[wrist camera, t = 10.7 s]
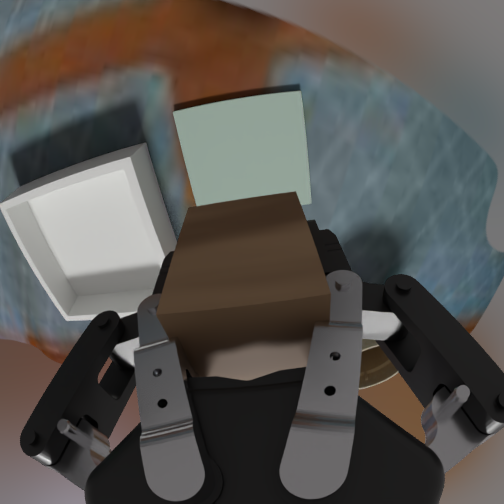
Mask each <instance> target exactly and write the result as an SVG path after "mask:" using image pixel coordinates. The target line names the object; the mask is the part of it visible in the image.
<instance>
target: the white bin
mask: <svg viewBox="0 0 504 504" xmlns="http://www.w3.org/2000/svg"><path fill="white" fill-rule="evenodd" d="M0 208H1V211H2V213H3V215H4V217H5V219H6V221H7V223H8V225H9V227H10V229H11V231H12V233H13V235H14V237H15V239H16V241H17V243H18V245H19V247H20V249H21V250H22V252H23V254H24V256H25V258H26V259H27V261H28V263H29V264H30V266H31V268H32V270H33V271H34V273H35V275H36V276H37V278H38V279H39V281H40V283H41V284H42V286H43V287H44V289H45V290H46V292H47V294H48V295H49V297H50V298H51V300H52V301H53V303H54V304H55V305H56V307H57V308H58V310H59V311H60V313H61V314H62V315H63V317H64V318H65V320H66V321H75V320H93V319H94V318H95V317H96V316H97V315H98V314H100V313H102V312H104V311H108V310H111V311H115V312H117V314H118V315H119V317H120V318H122V317H125V316H128V315H131V314H134V313H136V312H137V309H138V306H139V305H140V303H141V302H142V301H143V300H144V299H145V298H147V297H149V296H151V295H152V293H153V290H154V287H155V284H156V281H157V278H158V275H159V272H160V269H161V266H162V263H163V260H164V258H165V257H166V256H167V255H168V254H169V252H170V251H175V247H176V244H177V240H176V237H175V234H174V231H173V228H172V225H171V222H170V219H169V216H168V213H167V210H166V207H165V204H164V201H163V197H162V194H161V191H160V188H159V184H158V181H157V178H156V175H155V171H154V168H153V164H152V161H151V158H150V154H149V151H148V147H147V143H146V142H145V143H141V144H137V145H134V146H130V147H127V148H123V149H120V150H117V151H114V152H110V153H107V154H104V155H101V156H98V157H95V158H92V159H89V160H86V161H83V162H80V163H77V164H75V165H72V166H69V167H66V168H64V169H61V170H59V171H56V172H53V173H51V174H48V175H46V176H43V177H41V178H39V179H36V180H34V181H32V182H29V183H27V184H25V185H22V186H20V187H19V188H18V189H16V190H15V191H14V192H13V193H12V194H10V195H9V196H8V197H7V198H6V199H4V200H3V201H2V202H1V203H0Z"/></svg>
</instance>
